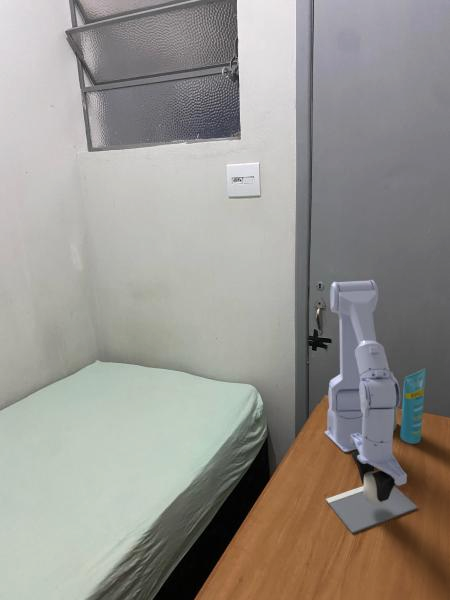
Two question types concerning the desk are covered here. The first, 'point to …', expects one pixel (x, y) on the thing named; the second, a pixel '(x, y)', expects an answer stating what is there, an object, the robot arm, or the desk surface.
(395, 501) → the gray book
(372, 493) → the white tapered cylinder
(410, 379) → the tube
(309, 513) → the desk surface
